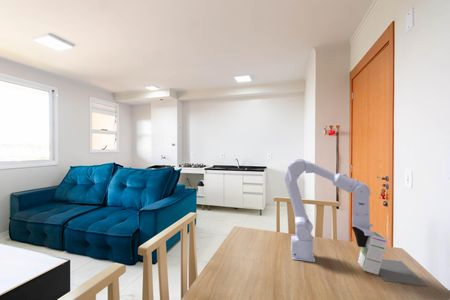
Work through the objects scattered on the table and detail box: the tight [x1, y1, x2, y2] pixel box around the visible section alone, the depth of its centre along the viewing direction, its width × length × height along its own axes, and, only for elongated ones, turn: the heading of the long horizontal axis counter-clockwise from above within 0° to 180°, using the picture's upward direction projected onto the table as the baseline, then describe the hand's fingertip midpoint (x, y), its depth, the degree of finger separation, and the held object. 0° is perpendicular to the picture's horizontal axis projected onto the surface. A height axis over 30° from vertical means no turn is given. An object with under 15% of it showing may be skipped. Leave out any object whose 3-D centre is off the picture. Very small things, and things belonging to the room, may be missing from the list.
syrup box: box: [357, 230, 388, 275], centre depth 83 cm, size 6×6×14 cm
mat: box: [378, 258, 428, 287], centre depth 82 cm, size 13×16×1 cm
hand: (361, 246), depth 83 cm, fingers closed
